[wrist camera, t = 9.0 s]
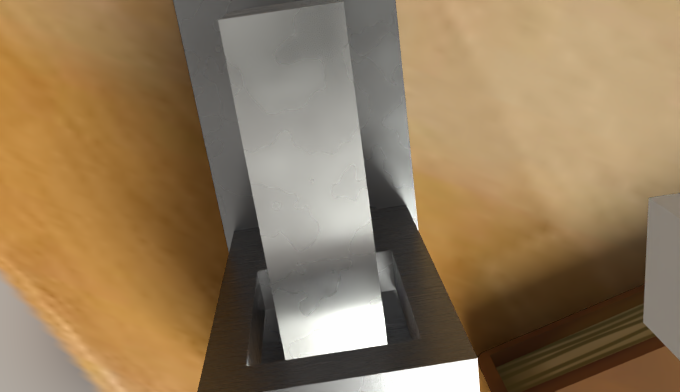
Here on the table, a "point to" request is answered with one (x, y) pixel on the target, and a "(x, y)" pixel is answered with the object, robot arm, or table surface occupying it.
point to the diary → (586, 354)
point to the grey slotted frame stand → (387, 223)
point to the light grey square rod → (306, 172)
